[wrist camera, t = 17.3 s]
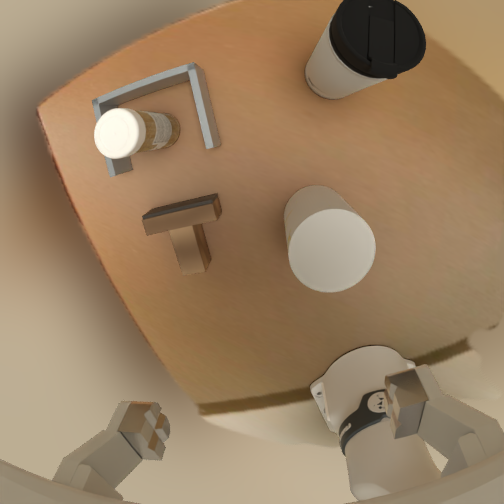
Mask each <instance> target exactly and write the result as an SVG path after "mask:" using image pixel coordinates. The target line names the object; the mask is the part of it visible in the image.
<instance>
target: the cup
mask: <svg viewBox="0 0 504 504" xmlns="http://www.w3.org/2000/svg"><path fill="white" fill-rule="evenodd" d="M284 224H285V232H286V240H287V248H288V256H289V263H290V266H291V269H292V271H293V273H294V274H295V276H296V277H297V278H298V280H299V281H300V282H302V283H303V284H304V285H306V286H307V287H309V288H311V289H313V290H316V291H320V292H338V291H342V290H345V289H348V288H350V287H352V286H354V285H355V284H357V283H358V282H359V281H360V280H361V279H362V278H363V277H364V276H365V275H366V274H367V273H368V271H369V269H370V268H371V266H372V263H373V261H374V257H375V250H376V245H375V239H374V235H373V233H372V230H371V229H370V227H369V225H368V224H367V223H366V222H365V221H364V220H363V219H362V218H361V216H360V215H359V214H358V213H357V212H356V211H355V210H354V209H353V208H352V207H351V206H350V205H349V204H348V203H347V202H346V201H345V200H344V199H343V198H342V197H341V196H340V195H339V194H338V193H337V192H336V191H334V190H333V189H331V188H329V187H326V186H322V185H311V186H307V187H304V188H302V189H300V190H298V191H297V192H296V193H295V194H293V195H292V197H291V198H290V199H289V201H288V202H287V205H286V207H285V211H284Z"/></svg>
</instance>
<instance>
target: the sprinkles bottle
mask: <svg viewBox="0 0 504 504" xmlns="http://www.w3.org/2000/svg"><path fill="white" fill-rule="evenodd" d="M179 132H180V126H179V123H178V121H177V120H176V118H175V117H173V116H172V115H170V114H166V113H155V112H146V111H134V110H132V109H127V108H115V109H111V110H109V111H107V112H106V113H104V114H103V115H102V116H101V117H100V119H99V120H98V122H97V124H96V127H95V131H94V139H95V143H96V146H97V148H98V150H99V151H100V152H101V153H102V154H103V155H104V156H106V157H108V158H112V159H119V158H124V157H128V156H131V155H133V154H134V153H138V152H145V151H151V150H156V149H159V148H167V147H170V146H171V145H173V144H174V143H175V142H176V140H177V139H178V137H179Z"/></svg>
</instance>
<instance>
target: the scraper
mask: <svg viewBox="0 0 504 504" xmlns="http://www.w3.org/2000/svg"><path fill="white" fill-rule="evenodd" d="M221 212H222V210H221V206H220V202H219V198H218V194H212V195H208V196H203V197H199V198H195V199H190V200H186V201H182V202H178V203H174V204H170V205H166V206H162V207H158V208H154V209H151V210H150V211H149V212H147V213H146V214H145V215H143V216H142V217H143V220H142V222H143V225H144V229H145V232H146V235H152V234H156V233H161V232H165V231H169V233H170V237H171V240H172V243H173V246H174V250H175V253H176V256H177V259H178V262H179V265H180V268H181V271H182V274H183V276H185V275H191V274H196V273H202V272H206V270H207V268H208V265H209V263H210V261H211V256H210V253H209V249H208V246H207V242H206V239H205V235H204V231H203V228H202V223H207V222H211V221H216V220H217V219H218V217H219V216H220V214H221Z"/></svg>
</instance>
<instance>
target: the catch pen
mask: <svg viewBox="0 0 504 504" xmlns="http://www.w3.org/2000/svg"><path fill="white" fill-rule="evenodd" d="M189 80H190V81H191V86H192V90H193V95H194V99H195V103H196V107H197V112H198V116H199V120H200V125H201V129H202V133H203V137H204V141H205V146H206V149H209V148H213V147H217V146H220V145H221V143H220V139H219V135H218V130H217V126H216V122H215V117H214V113H213V109H212V105H211V100H210V96H209V92H208V87H207V83H206V79H205V75H204V70H203V69H201V68H200V67H199V66H198V65H197V64H195V63H194V62H193V63H190V64H186V65H183V66H180V67H177V68H173V69H170V70H167V71H164V72H161V73H158V74H156V75H153V76H150V77H147V78H144V79H142V80H139V81H136V82H134V83H131V84H129V85H126V86H124V87H121V88H119V89H116V90H114V91H112V92H109V93H107V94H105V95H102V96H100V97H98V98H96V99H94V100H92V103H93V108H94V113H95V117H96V122H98V120H99V119H100V117H101V116H102V115H103V114H104V113H106V112H107V111H109V110H111V109H115V108H118V106H117V105H120V104H122V103H125V102H127V101H130V100H133V99H135V98H138V97H141V96H143V95H146V94H149V93H152V92H155V91H158V90H161V89H164V88H167V87H170V86H173V85H176V84H179V83H183V82H186V81H189ZM105 160H106V164H107V167H108V171H109V175H110V177H113V176H116V175H118V174H121V173H124V172H127V171H130V170H133V168H132V164H131V161H130V157H129V156H128V157H124V158H119V159H112V158H108V157H106V156H105Z"/></svg>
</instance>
